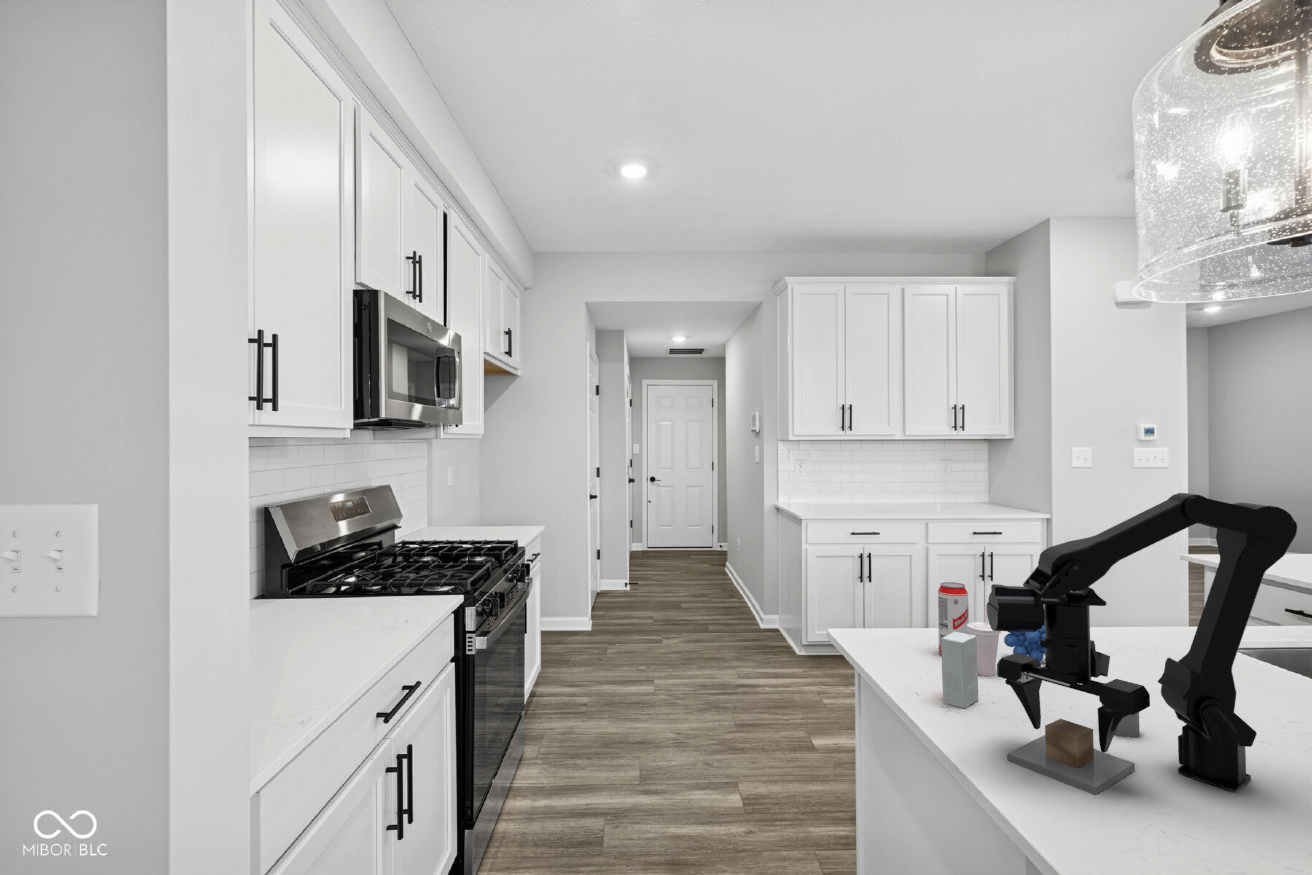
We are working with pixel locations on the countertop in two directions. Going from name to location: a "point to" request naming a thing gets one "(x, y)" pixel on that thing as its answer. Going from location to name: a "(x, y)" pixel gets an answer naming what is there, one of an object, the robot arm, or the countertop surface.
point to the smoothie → (985, 645)
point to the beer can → (952, 609)
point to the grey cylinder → (1128, 726)
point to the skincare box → (959, 669)
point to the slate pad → (1086, 777)
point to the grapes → (1027, 643)
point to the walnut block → (1069, 743)
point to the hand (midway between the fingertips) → (1069, 739)
